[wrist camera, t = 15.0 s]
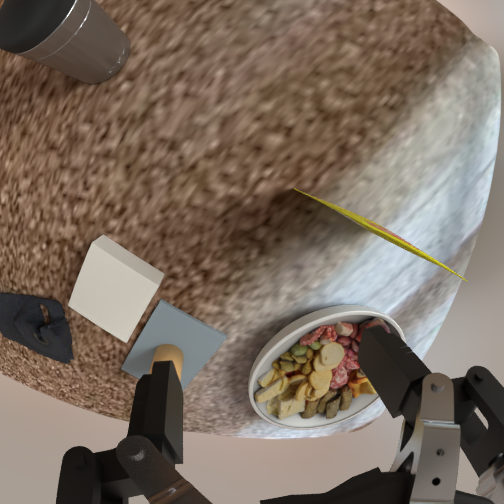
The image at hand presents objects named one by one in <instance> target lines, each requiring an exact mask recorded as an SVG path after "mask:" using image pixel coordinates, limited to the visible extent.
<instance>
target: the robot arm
mask: <svg viewBox="0 0 504 504" xmlns="http://www.w3.org/2000/svg"><path fill="white" fill-rule="evenodd" d="M0 48H1V49H3V50H5V51H8V52H11V53H14V54H16V55H19V56H22V57H24V58H27V59H30V60H33V61H35V62H38V63H40V64H43V65H45V66H48V67H50V68H53V69H55V70H57V71H60V72H62V73H64V74H67V75H69V76H71V77H73V78H75V79H78V80H80V81H82V82H84V83H88V84H96V83H101V82H103V81H105V80H108V79H109V78H111V77H112V76H114V75H115V74H116V73H117V72H118V71H119V70H120V69H121V68H122V66H123V65H124V63H125V62H126V60H127V58H128V55H129V51H130V43H129V39H128V38H127V36H126V35H125V34H124V32H123V31H122V30H121V29H120V28H119V27H118V25H117V24H116V23H115V22H114V21H113V20H112V19H111V17H110V16H109V15H108V14H107V13H106V12H105V11H104V10H103V9H102V8H101V6H100V5H99V4H98V3H97V2H96V1H95V0H4V2H3V5H2V7H1V9H0ZM358 363H359V366H360V368H361V369H362V371H363V372H364V374H365V375H366V377H367V378H368V380H369V381H370V383H371V385H372V386H373V388H374V389H375V391H376V392H377V394H378V395H379V397H380V398H381V400H382V402H383V403H384V405H385V406H386V408H387V409H388V411H389V412H390V414H391V416H392V417H393V418H395V417H397V416H400V415H403V416H404V420H403V424H402V429H401V435H400V440H399V444H398V449H397V453H396V457H395V460H394V462H393V464H392V466H391V468H390V471H389V472H381V471H380V469H379V468H378V467H377V468H375V469H372V470H370V471H368V472H365V473H362V474H360V475H357V476H354V477H352V478H350V479H349V480H347V481H345V482H344V483H342V484H340V485H339V486H337V487H335V488H333V489H332V490H330V491H328V492H326V493H321V494H304V495H288V496H283V497H278V498H273V499H268V500H261V501H260V504H504V387H503V386H502V385H501V384H500V383H499V382H498V380H496V378H495V377H494V376H493V375H492V374H491V373H490V371H489V370H487V369H486V368H484V367H482V366H473V367H471V368H470V369H469V370H468V372H467V374H466V376H465V377H460V378H455V379H450V378H449V377H448V376H446V375H444V374H442V373H432V372H431V371H430V370H429V369H428V368H427V367H426V365H425V364H424V363H423V362H422V361H421V360H420V359H419V358H418V356H417V355H416V354H415V353H414V352H412V350H411V349H410V347H408V346H407V344H406V343H405V342H404V341H403V340H402V339H401V338H400V337H398V336H396V335H395V334H393V333H388V332H387V331H386V330H385V329H384V328H383V327H382V326H381V325H375V326H372V327H368V328H365V329H363V331H362V335H361V340H360V345H359V350H358ZM477 407H478V409H479V410H480V411H481V413H482V414H483V416H484V417H485V418H486V420H487V421H488V430H487V429H486V427H485V426H484V424H483V423H482V421H481V420H480V419H479V418H478V416H477V415H476V413H475V412H474V410H475V409H476V408H477ZM460 447H461V448H462V450H463V451H464V453H465V455H466V456H467V458H468V460H469V461H470V463H471V465H472V467H473V468H474V470H475V472H476V473H477V475H478V477H479V483H478V486H477V488H476V493H477V494H478V495H481V496H477V495H473V494H469V493H465V492H461V491H458V490H456V482H457V475H458V465H459V452H460ZM175 464H183V391H182V386H181V383H180V380H179V377H178V374H177V371H176V368H175V365H174V363H173V361H172V360H166V361H154V363H153V367H152V373H151V374H143V376H142V377H141V378H140V380H139V381H138V382H137V385H136V390H135V396H134V400H133V405H132V411H131V417H130V423H129V429H128V434H127V437H126V438H124V439H123V440H122V441H120V443H119V444H118V446H117V447H116V448H114V449H111V450H107V451H102V452H96V453H93V452H92V451H91V450H89V449H88V448H86V447H83V446H77V447H73V448H71V449H69V450H68V451H67V452H66V453H65V454H64V456H63V460H62V465H61V471H60V477H59V484H58V491H57V498H56V504H128V497H133V496H138V495H144V496H145V497H146V499H147V500H148V501H149V503H150V504H212V503H211V502H210V501H209V500H208V499H207V498H206V497H205V496H203V495H202V494H201V493H200V492H199V491H198V490H197V489H196V488H195V487H194V486H193V485H192V484H191V483H189V482H188V481H186V480H185V479H184V478H183V477H182V476H181V475H180V474H179V473H178V472H177V470H175Z"/></svg>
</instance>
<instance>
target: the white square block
mask: <svg viewBox="0 0 504 504" xmlns="http://www.w3.org/2000/svg"><path fill="white" fill-rule="evenodd" d="M163 277H164V273H162V272H161V271H159V270H158V269H156V268H154V267H153V266H151V265H150V264H148V263H146V262H145V261H143V260H142V259H140V258H138V257H137V256H135V255H134V254H132V253H131V252H129V251H128V250H126V249H125V248H123V247H121V246H120V245H118V244H117V243H115V242H114V241H112V240H111V239H109V238H108V237H106V236H105V235H102V236H100V237H99V238H98V239H96V240H95V241H93V242H92V244H91V246H90V248H89V251H88V253H87V256H86V258H85V261H84V263H83V266H82V268H81V271H80V273H79V276H78V279H77V281H76V284H75V287H74V290H73V292H72V295H71V298H70V301H69V304H68V306H69V307H71V308H72V309H74V310H75V311H77V312H78V313H80V314H81V315H83V316H84V317H86V318H87V319H89V320H90V321H92V322H93V323H95V324H96V325H98V326H99V327H101V328H103V329H104V330H106V331H107V332H109V333H111V334H112V335H114V336H116V337H117V338H119V339H121V340H122V341H124V342H126V343H127V341H128V340H129V338H130V336H131V334H132V332H133V330H134V329H135V327H136V325H137V323H138V322H139V320H140V318H141V316H142V314H143V313H144V311H145V309H146V307H147V306H148V304H149V302H150V301H151V299H152V297H153V295H154V294H155V292H156V290H157V289H158V287H159V285H160V283H161V281H162V279H163Z"/></svg>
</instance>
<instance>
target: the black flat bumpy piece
mask: <svg viewBox="0 0 504 504" xmlns="http://www.w3.org/2000/svg"><path fill="white" fill-rule="evenodd" d="M40 303H41V304H43V305H45V306H46V307H47V308H48V312H49V317H50V324H45V322H44V320H45V319H44V316H43V313H42V310H41V308H40ZM64 316H65V313H64V312H63V309H62V305H61V304H60V303H59V302H58V301H57V300H49V299H44V298H39V297H35V296H29V295H15V294H9V293H0V331H1V333H2V335H3V336H4V337H5V338H8V339H10V340H12V341H15V342H18V343H19V344H21V345H23V346H26V347H27V348H29V349H31V350H33V351H35V352H37V353H38V354H41V355H43V356H46V357H49V358H51V359H53V360H56V361H60V362H62V363H65V364H68V363H70V359H74V357H73V353H72V349H71V344H72V338H71V333H70V328H69V324H68V322H67V321H66V320H67V319H66V318H65V317H64Z"/></svg>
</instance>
